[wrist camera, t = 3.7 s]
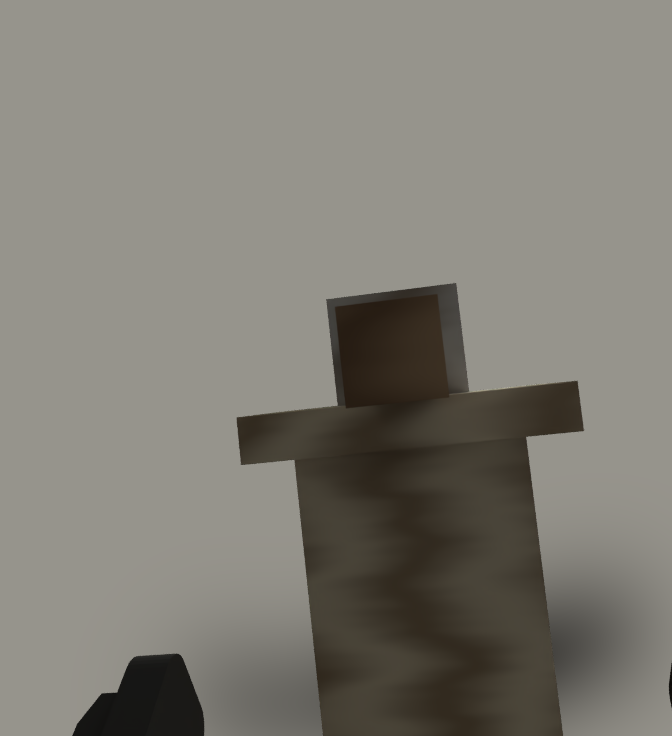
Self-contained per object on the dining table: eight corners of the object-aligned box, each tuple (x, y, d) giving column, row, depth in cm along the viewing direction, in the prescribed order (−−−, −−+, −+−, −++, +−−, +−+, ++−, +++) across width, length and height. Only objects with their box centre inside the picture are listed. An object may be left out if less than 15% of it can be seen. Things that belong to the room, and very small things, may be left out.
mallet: (275, 416, 16) (254, 216, 16) (348, 404, 35) (338, 312, 35) (524, 389, 15) (498, 181, 15) (460, 392, 34) (449, 299, 34)
